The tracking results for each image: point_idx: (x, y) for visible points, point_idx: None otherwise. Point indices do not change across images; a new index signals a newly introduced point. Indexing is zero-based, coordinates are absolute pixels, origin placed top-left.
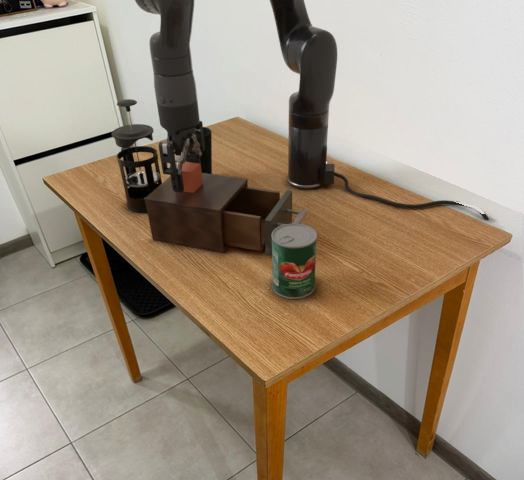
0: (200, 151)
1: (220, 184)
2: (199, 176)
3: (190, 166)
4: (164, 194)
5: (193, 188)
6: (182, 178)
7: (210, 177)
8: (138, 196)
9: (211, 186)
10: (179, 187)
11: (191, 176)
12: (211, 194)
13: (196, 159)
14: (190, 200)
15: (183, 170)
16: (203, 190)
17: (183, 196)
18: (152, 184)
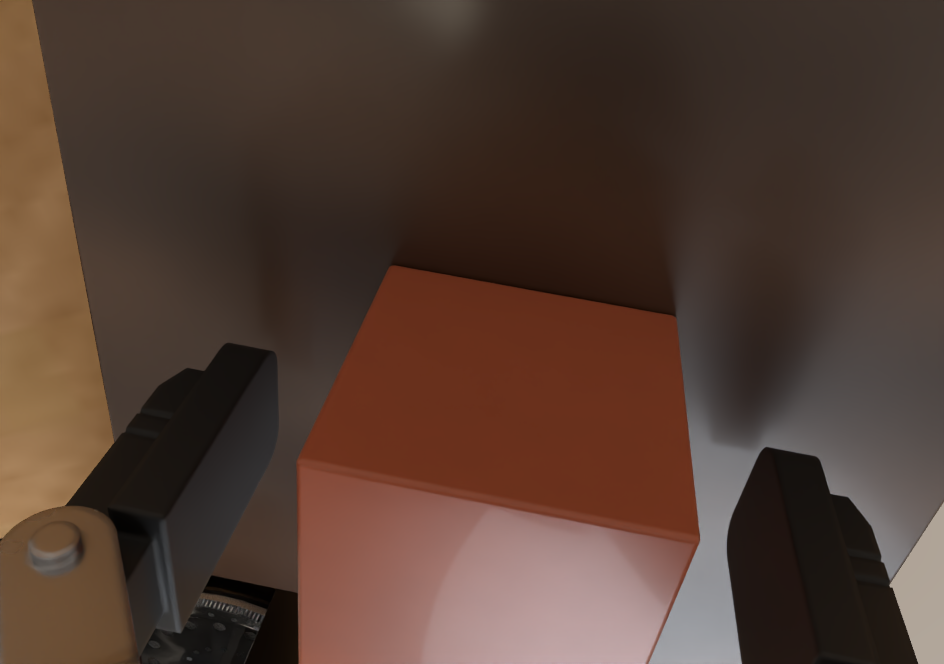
0: (13, 580)
1: (333, 4)
2: (436, 357)
3: (457, 575)
4: (722, 579)
5: (671, 348)
6: (804, 584)
7: (172, 213)
8: (250, 588)
9: (434, 129)
10: (842, 528)
11: (692, 481)
12: (713, 54)
13: (171, 538)
14: (914, 305)
15: (630, 637)
16: (584, 209)
17: (778, 406)
18: (289, 617)
